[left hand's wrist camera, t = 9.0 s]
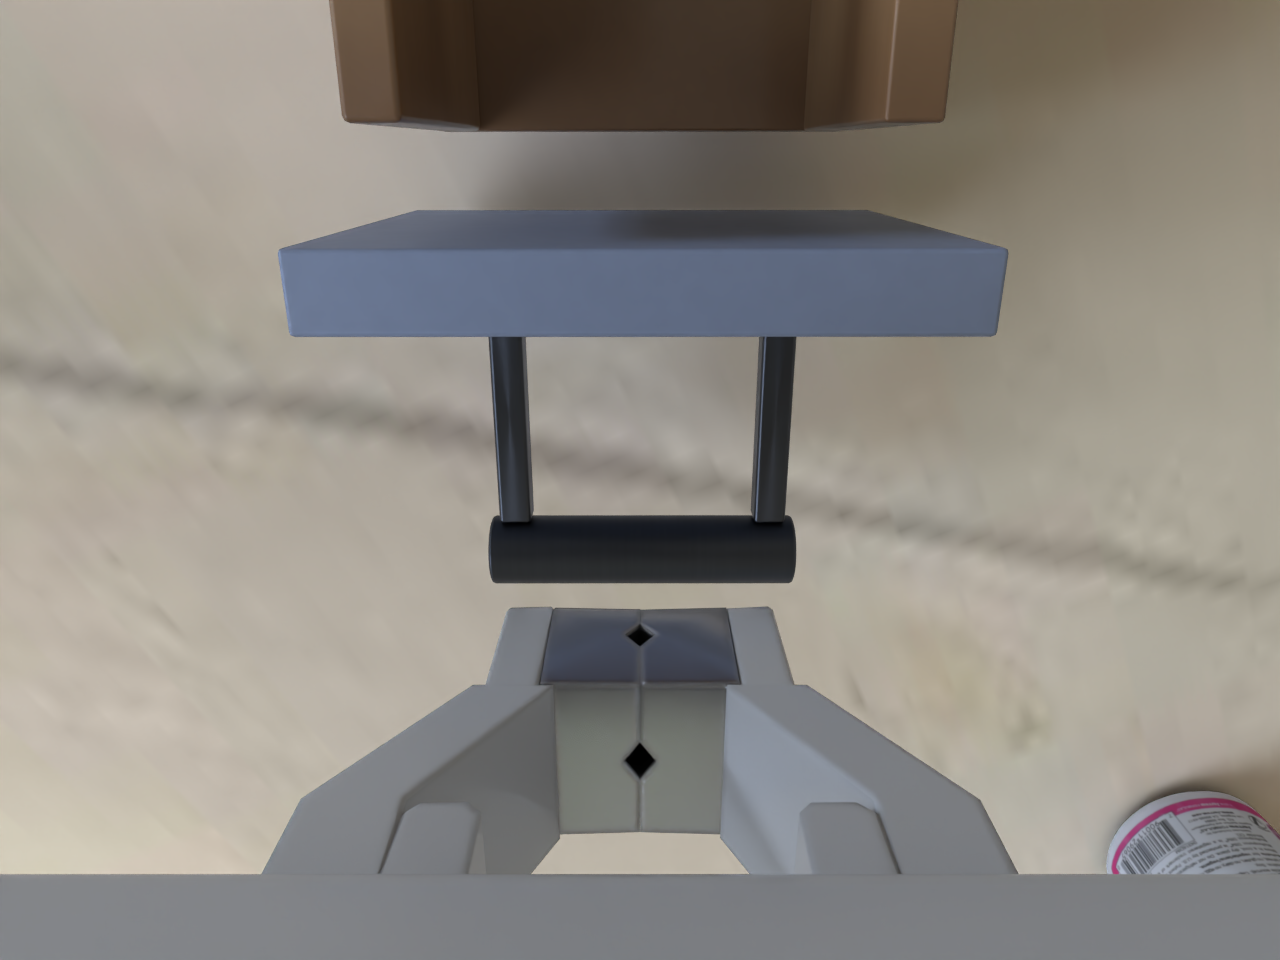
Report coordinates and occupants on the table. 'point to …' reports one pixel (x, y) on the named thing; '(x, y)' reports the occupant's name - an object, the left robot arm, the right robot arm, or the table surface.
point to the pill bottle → (1195, 838)
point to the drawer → (643, 229)
